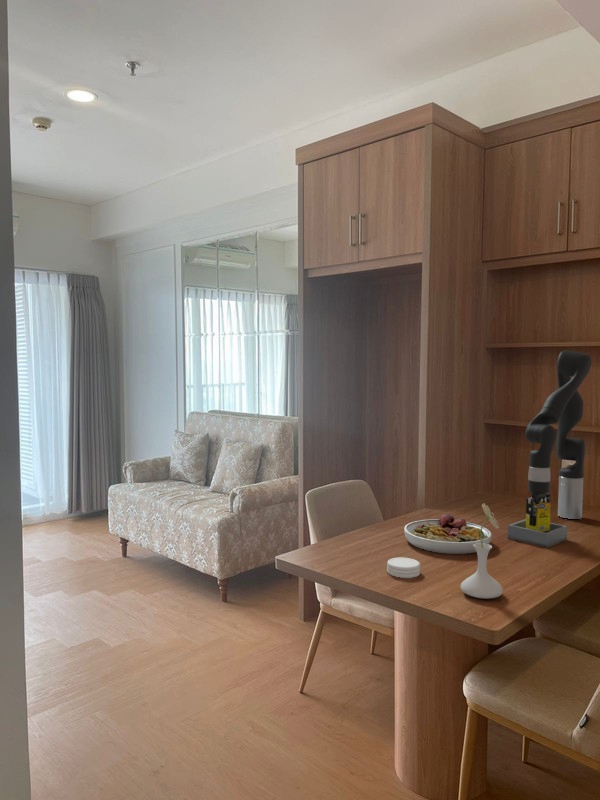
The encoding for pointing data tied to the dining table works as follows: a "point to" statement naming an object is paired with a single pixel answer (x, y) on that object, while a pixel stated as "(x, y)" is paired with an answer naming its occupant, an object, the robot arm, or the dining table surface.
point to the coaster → (403, 567)
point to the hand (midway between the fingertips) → (537, 523)
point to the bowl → (446, 535)
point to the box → (537, 534)
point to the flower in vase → (482, 568)
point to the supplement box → (540, 518)
